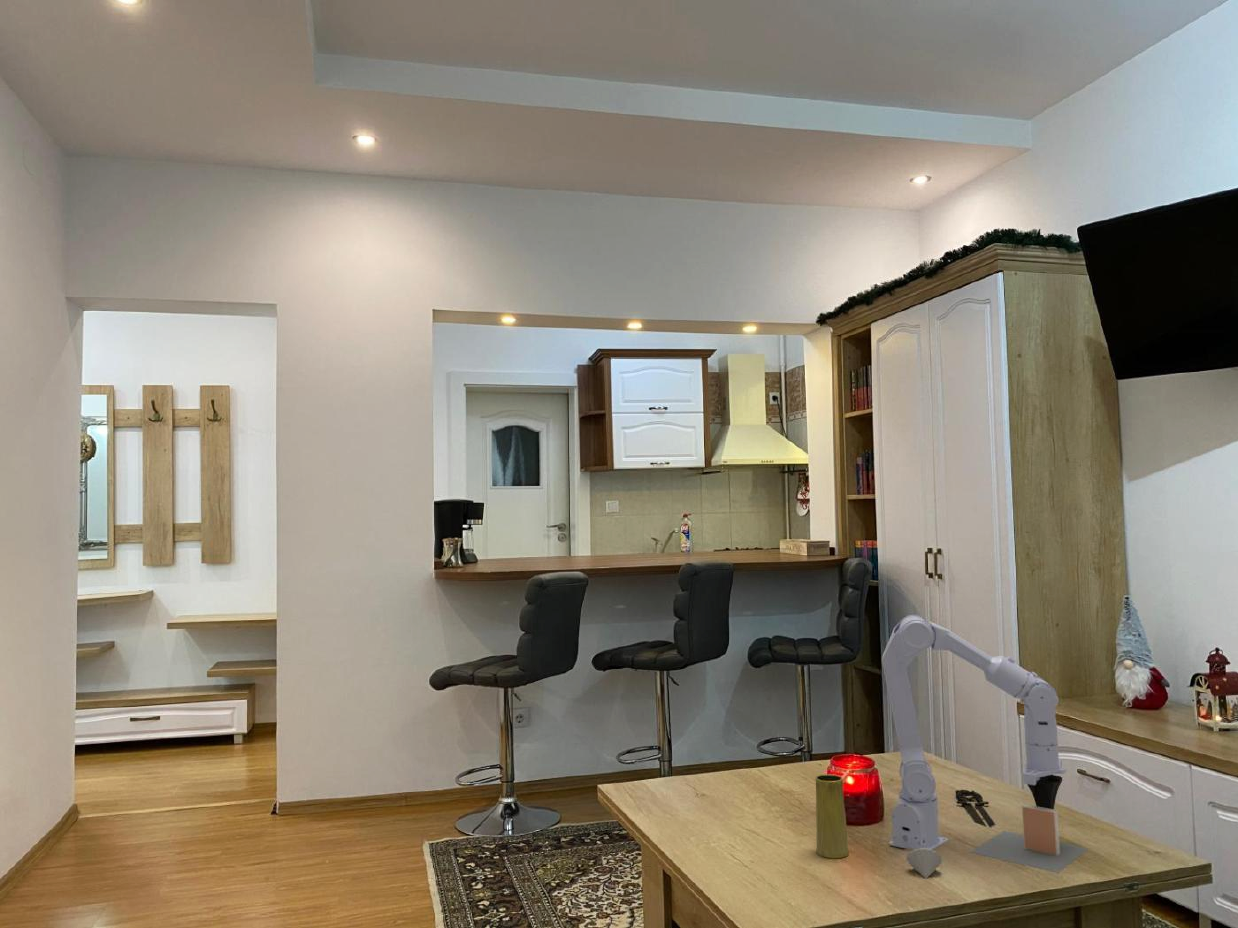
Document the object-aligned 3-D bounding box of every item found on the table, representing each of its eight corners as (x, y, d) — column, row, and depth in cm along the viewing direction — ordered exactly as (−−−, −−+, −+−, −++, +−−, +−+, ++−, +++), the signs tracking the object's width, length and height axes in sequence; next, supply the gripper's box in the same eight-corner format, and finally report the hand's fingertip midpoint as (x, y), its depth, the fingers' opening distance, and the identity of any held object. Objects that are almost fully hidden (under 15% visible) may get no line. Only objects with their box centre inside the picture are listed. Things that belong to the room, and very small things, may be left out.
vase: (825, 860, 172) (822, 783, 173) (810, 849, 178) (807, 775, 179) (854, 856, 174) (851, 779, 175) (838, 846, 180) (835, 771, 181)
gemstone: (912, 866, 161) (909, 840, 165) (905, 885, 164) (902, 859, 168) (948, 872, 160) (944, 846, 164) (940, 890, 164) (937, 865, 168)
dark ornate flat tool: (999, 833, 186) (998, 825, 186) (964, 831, 187) (963, 823, 188) (983, 796, 211) (983, 789, 211) (952, 794, 213) (952, 788, 213)
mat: (1058, 874, 162) (1058, 872, 162) (969, 854, 173) (969, 851, 173) (1088, 850, 173) (1088, 848, 173) (1004, 832, 185) (1004, 830, 185)
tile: (1057, 856, 170) (1054, 811, 170) (1024, 848, 174) (1021, 805, 175) (1060, 853, 171) (1057, 809, 172) (1027, 846, 175) (1024, 803, 176)
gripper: (1049, 753, 168) (1053, 828, 167) (1076, 738, 178) (1080, 809, 177) (1010, 747, 173) (1014, 820, 172) (1039, 733, 183) (1043, 803, 182)
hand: (1045, 814), depth 175 cm, fingers closed
